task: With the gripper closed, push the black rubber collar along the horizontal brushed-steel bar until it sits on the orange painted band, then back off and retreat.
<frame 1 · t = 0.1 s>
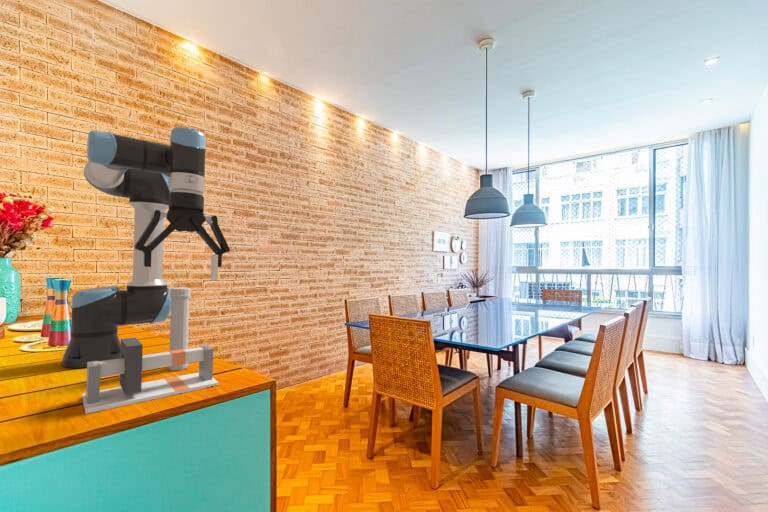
hand: (184, 280, 86), 28 cm above the table, fingers open, 13 cm apart
pipe: (177, 368, 108), on the table
rail: (154, 390, 89), on the table
collar: (130, 364, 86), point 8 cm above the table, slide at 0.0 cm
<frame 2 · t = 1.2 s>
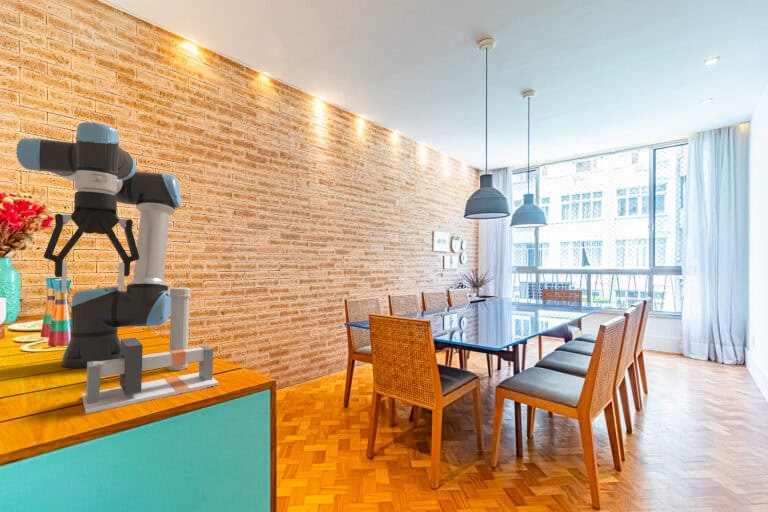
hand: (93, 291, 81), 26 cm above the table, fingers open, 9 cm apart
nothing on the table moved.
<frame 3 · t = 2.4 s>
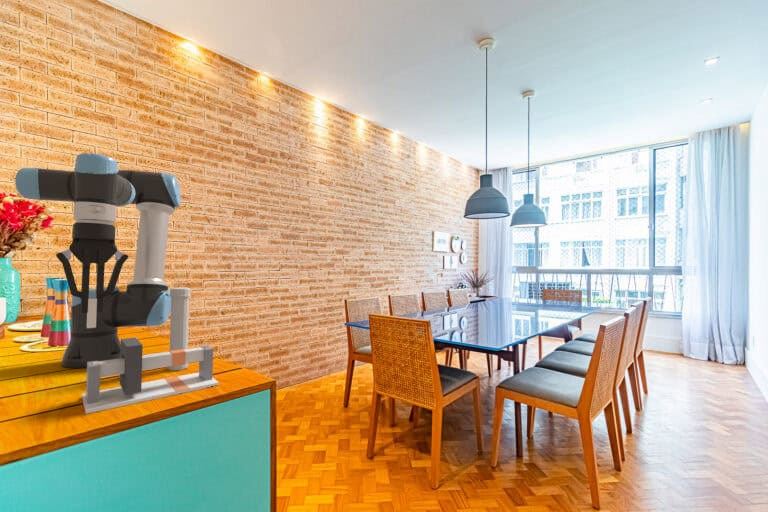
hand: (91, 326, 81), 17 cm above the table, fingers closed
nothing on the table moved.
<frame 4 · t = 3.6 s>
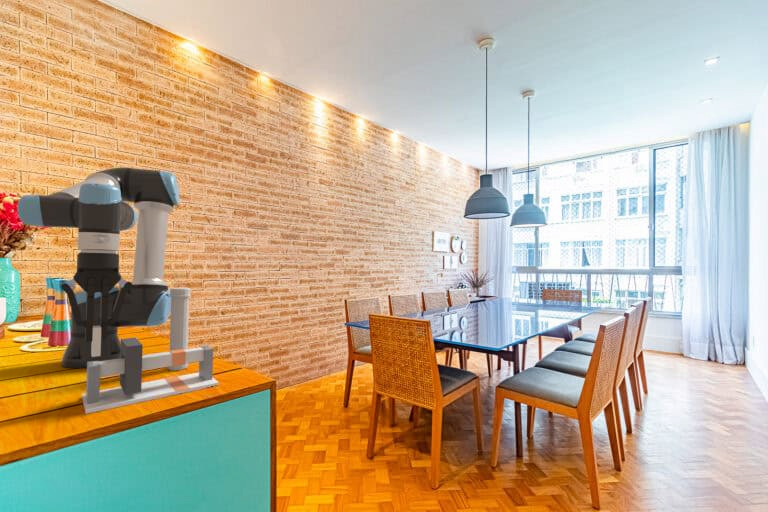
hand: (95, 355, 81), 11 cm above the table, fingers closed
nothing on the table moved.
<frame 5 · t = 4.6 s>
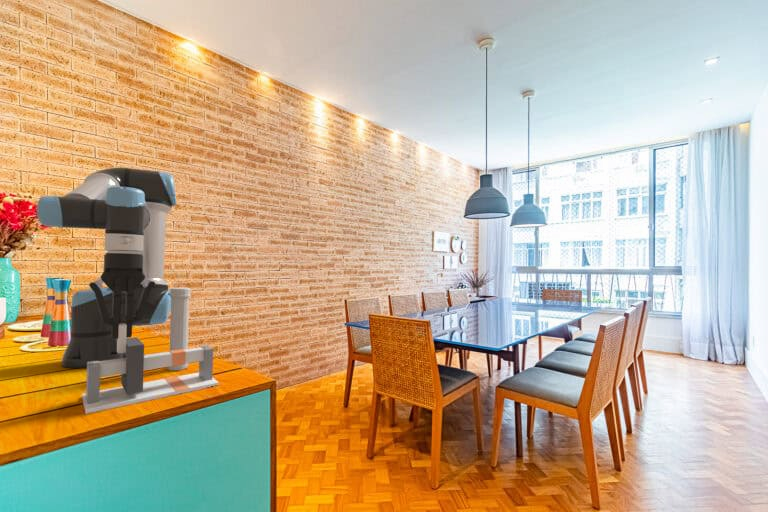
hand: (121, 351, 85), 11 cm above the table, fingers closed
collar: (132, 364, 86), point 8 cm above the table, slide at 0.3 cm, touching gripper
everything else where it was.
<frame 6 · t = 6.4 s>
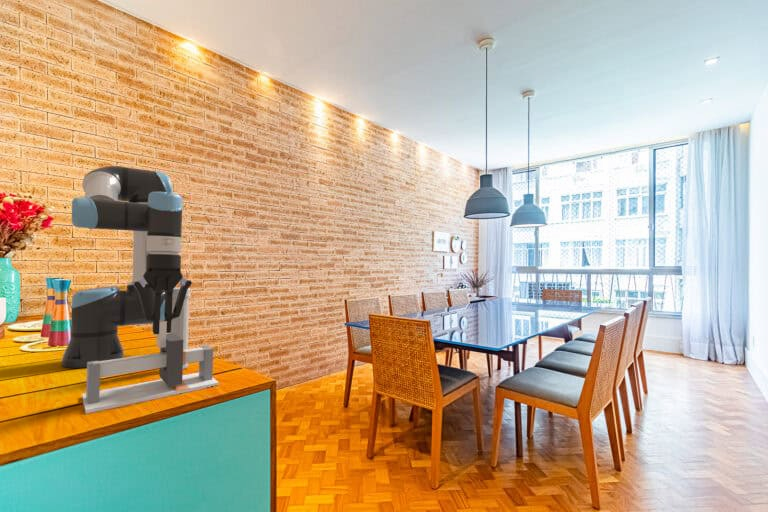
hand: (161, 346, 90), 11 cm above the table, fingers closed
collar: (171, 358, 92), point 7 cm above the table, slide at 8.6 cm, touching gripper
everything else where it was.
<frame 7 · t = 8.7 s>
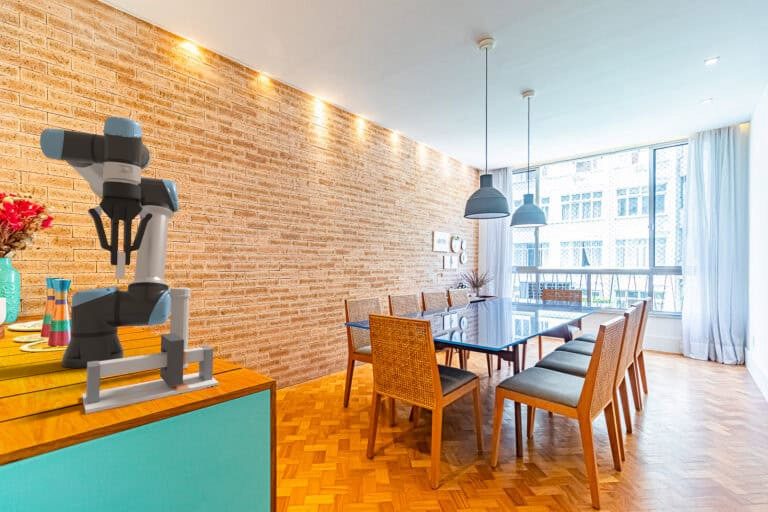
hand: (120, 278, 88), 28 cm above the table, fingers closed
collar: (171, 358, 92), point 8 cm above the table, slide at 8.7 cm
everything else where it was.
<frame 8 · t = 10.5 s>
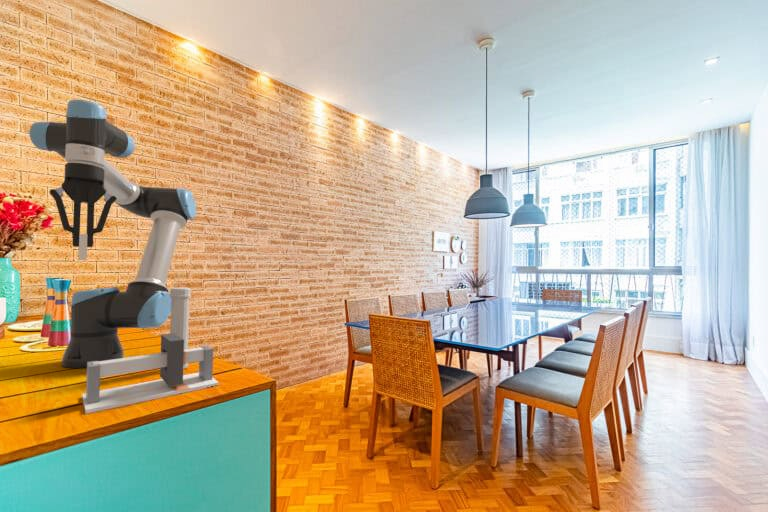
hand: (82, 260, 88), 32 cm above the table, fingers closed
nothing on the table moved.
at the end: collar slide at 8.7 cm; the gripper is holding nothing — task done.
